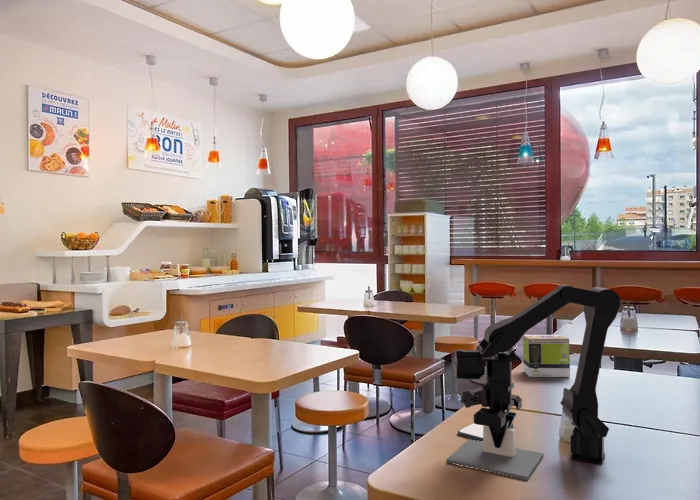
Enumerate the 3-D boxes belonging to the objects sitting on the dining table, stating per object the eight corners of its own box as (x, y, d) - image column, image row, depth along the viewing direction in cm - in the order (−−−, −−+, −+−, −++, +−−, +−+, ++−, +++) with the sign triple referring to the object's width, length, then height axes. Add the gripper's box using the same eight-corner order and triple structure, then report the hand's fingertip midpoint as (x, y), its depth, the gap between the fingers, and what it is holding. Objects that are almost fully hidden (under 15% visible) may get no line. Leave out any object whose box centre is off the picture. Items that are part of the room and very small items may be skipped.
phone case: (486, 445, 136) (515, 428, 147) (485, 439, 136) (515, 422, 147) (455, 437, 142) (485, 421, 153) (455, 431, 142) (485, 415, 153)
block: (483, 451, 128) (483, 425, 128) (485, 448, 130) (485, 423, 130) (513, 457, 124) (513, 431, 124) (515, 454, 126) (515, 428, 126)
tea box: (562, 372, 211) (562, 334, 211) (570, 378, 201) (570, 338, 201) (522, 371, 213) (522, 333, 213) (528, 377, 203) (528, 337, 203)
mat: (543, 456, 127) (543, 453, 127) (527, 480, 114) (527, 476, 114) (468, 442, 136) (468, 439, 136) (446, 462, 123) (446, 459, 123)
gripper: (478, 367, 139) (478, 428, 139) (451, 383, 123) (451, 452, 123) (522, 372, 133) (522, 436, 133) (500, 390, 117) (500, 462, 117)
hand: (498, 446), depth 127 cm, fingers closed on block, 2 cm apart
